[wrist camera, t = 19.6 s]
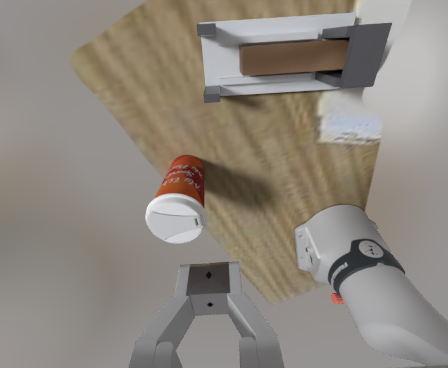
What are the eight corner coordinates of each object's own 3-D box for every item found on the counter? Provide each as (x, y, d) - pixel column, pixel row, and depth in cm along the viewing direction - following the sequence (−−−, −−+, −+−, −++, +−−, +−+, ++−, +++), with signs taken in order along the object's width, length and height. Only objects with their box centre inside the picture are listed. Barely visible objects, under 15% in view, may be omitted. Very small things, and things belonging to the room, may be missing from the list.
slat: (337, 64, 31) (357, 68, 26) (239, 71, 31) (243, 76, 27) (343, 39, 29) (364, 38, 25) (239, 46, 29) (242, 47, 25)
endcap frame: (334, 86, 34) (368, 99, 26) (207, 94, 34) (204, 110, 26) (350, 13, 29) (397, 3, 21) (200, 23, 29) (194, 17, 21)
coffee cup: (205, 146, 39) (199, 196, 26) (212, 184, 43) (211, 242, 30) (159, 152, 39) (132, 204, 26) (171, 189, 43) (153, 249, 31)
